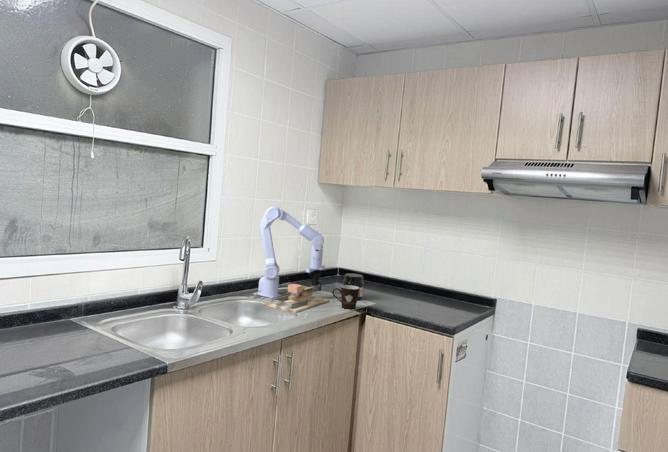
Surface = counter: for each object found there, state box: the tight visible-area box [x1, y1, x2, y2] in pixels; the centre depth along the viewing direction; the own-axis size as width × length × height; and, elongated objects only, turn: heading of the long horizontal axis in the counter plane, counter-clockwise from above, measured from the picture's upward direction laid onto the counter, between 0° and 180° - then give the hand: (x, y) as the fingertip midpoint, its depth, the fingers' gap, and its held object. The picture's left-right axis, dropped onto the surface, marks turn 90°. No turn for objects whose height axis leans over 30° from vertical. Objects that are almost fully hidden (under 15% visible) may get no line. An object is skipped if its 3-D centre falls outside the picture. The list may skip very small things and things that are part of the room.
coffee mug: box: [332, 284, 359, 310], centre depth 218 cm, size 12×9×10 cm
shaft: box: [292, 280, 323, 297], centre depth 225 cm, size 5×20×5 cm, turn 150°
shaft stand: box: [263, 285, 330, 313], centre depth 219 cm, size 17×29×8 cm, turn 150°
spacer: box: [287, 283, 304, 294], centre depth 216 cm, size 5×5×3 cm
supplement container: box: [342, 273, 365, 301], centre depth 239 cm, size 10×10×12 cm
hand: (314, 285), depth 231 cm, fingers closed
